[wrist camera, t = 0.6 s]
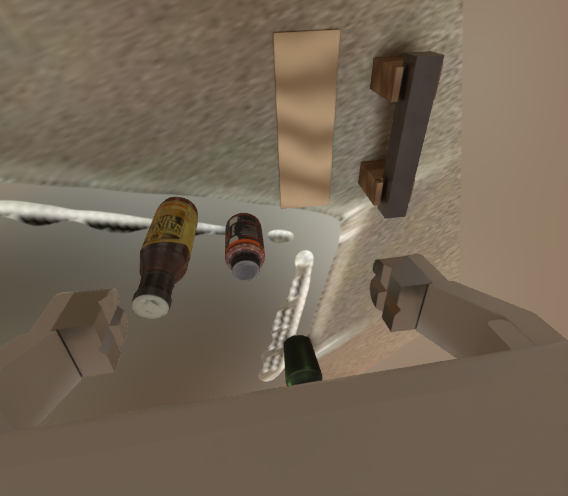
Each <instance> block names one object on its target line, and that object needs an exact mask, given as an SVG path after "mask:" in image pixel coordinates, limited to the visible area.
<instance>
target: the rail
mask: <svg viewBox="0 0 568 496" xmlns="http://www.w3.org/2000/svg"><path fill="white" fill-rule="evenodd" d="M443 59H444V55H443V54H439V53H435V52H431V51H427V52H409V53H405V55H404V60H403V66H402V67H404V69H403V74H402V80H401V85H400V91H399V97H398V102H396V106H395V112H394V117H393V123H392V129H391V134H390V140H389V146H388V152H387V157H386V163H385V169H384V174H383V180H382V182H383V187H382V192H381V198H380V204H379V205H378V209H379V210H380V212H381V213H382V215H383V216H384V217H385V218H395V217H405V216H406V212H407V208H408V203H409V199H410V195H411V191H412V187H413V183H414V179H415V175H416V171H417V166H418V162H419V158H420V154H421V150H422V146H423V142H424V138H425V133H426V129H427V125H428V121H429V117H430V113H431V109H432V105H433V101H434V96H435V92H436V88H437V84H438V80H439V76H440V72H441V68H442V63H443Z"/></svg>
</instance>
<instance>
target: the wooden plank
mask: <svg viewBox="0 0 568 496" xmlns="http://www.w3.org/2000/svg"><path fill="white" fill-rule="evenodd" d="M273 39H274V62H275V85H276V108H277V131H278V153H279V176H280V199H281V209H285V208H295V207H306V206H316V205H326V204H329V194H330V179H331V163H332V148H333V132H334V116H335V101H336V85H337V70H338V54H339V39H340V30H320V31H300V32H280V33H273Z"/></svg>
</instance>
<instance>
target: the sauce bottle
mask: <svg viewBox="0 0 568 496" xmlns="http://www.w3.org/2000/svg"><path fill="white" fill-rule="evenodd" d="M197 223H198V213H197V209H196V207H195V205H194V204H193V203H192V202H191V201H189V200H188V199H185V198H181V197H170V198H168V199H166V200H165V201H164V202H163V203H162V204H160V206H159V207H158V209H157V211H156V213H155V216H154V218H153V221H152V223H151V226H150V228H149V231H148V233H147V236H146V238H145V241H144V243H143V246H142V249H141V251H140V275H141V282H140V285H139V288H138V290H137V291H136V292H135V294H134V296H133V300H132V308H133V310H134V311H135V312H136V313H137V314H138V315H140V316H143V317H146V318H159V317H163V316H165V315H166V314H167V313H168V311H169V309H170V306H171V302H172V299H171V294H172V289H173V287H174V284H175V283H177V282H178V281H179V280H180V279H181V278H183V276H184V275H185V273H186V271H187V267H188V262H189V260H190V256H191V251H192V246H193V241H194V237H195V232H196V228H197Z"/></svg>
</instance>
